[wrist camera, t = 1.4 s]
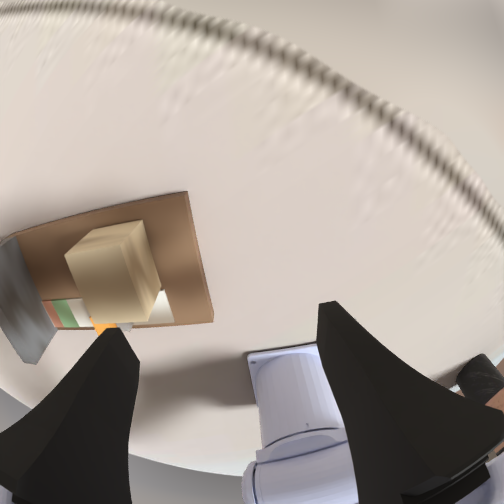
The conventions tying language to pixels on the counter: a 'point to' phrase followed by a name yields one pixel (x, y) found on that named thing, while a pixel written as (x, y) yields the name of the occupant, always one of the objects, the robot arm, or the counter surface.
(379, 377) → the robot arm
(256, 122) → the counter surface
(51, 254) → the base
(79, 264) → the tan rectangular block
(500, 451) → the travel mug
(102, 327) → the block
